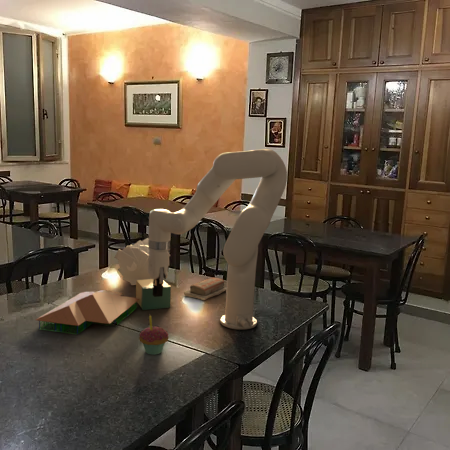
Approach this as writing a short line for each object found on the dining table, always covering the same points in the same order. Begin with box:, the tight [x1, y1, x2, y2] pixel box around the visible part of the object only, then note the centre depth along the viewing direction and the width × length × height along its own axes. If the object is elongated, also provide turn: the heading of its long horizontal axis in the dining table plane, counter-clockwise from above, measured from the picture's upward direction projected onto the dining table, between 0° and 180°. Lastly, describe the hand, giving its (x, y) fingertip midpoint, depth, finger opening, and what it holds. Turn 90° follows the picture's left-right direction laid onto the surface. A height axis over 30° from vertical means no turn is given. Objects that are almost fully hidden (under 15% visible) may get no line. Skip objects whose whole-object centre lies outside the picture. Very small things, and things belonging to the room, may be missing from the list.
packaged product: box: [183, 276, 227, 301], centre depth 203 cm, size 18×5×10 cm
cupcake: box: [138, 313, 170, 356], centre depth 146 cm, size 9×8×12 cm
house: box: [35, 289, 140, 335], centre depth 171 cm, size 23×33×8 cm
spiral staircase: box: [114, 237, 171, 286], centre depth 215 cm, size 18×18×25 cm
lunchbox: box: [135, 278, 172, 311], centre depth 187 cm, size 11×10×8 cm
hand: (157, 295), depth 177 cm, fingers closed
